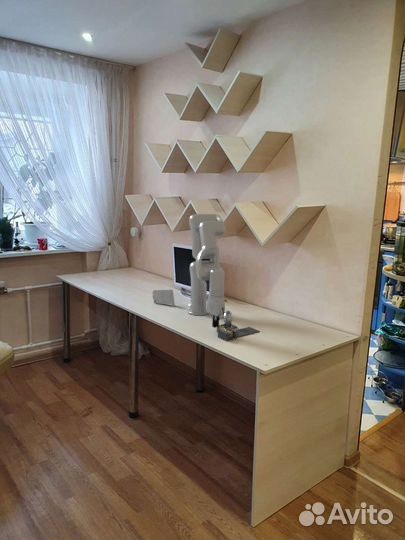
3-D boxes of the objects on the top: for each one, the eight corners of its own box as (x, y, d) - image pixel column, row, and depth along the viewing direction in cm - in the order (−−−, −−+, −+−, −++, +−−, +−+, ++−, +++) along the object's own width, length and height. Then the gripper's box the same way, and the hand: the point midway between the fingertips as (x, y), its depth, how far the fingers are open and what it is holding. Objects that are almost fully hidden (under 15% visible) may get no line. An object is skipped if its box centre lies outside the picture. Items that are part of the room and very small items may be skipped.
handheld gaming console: (155, 305, 270) (175, 305, 263) (153, 306, 267) (172, 306, 260) (153, 288, 268) (173, 288, 261) (151, 289, 266) (170, 289, 259)
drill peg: (222, 327, 223) (222, 311, 221) (227, 325, 225) (228, 309, 224) (227, 328, 220) (227, 312, 218) (232, 327, 222) (233, 311, 221)
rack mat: (228, 332, 214) (228, 332, 214) (249, 327, 223) (249, 326, 223) (238, 337, 208) (238, 336, 207) (259, 331, 216) (259, 330, 216)
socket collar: (217, 326, 223) (217, 325, 223) (228, 324, 228) (228, 322, 228) (226, 330, 217) (226, 329, 217) (237, 327, 222) (237, 326, 222)
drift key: (216, 332, 211) (216, 327, 211) (220, 331, 213) (220, 326, 212) (229, 337, 203) (229, 332, 203) (233, 336, 205) (233, 331, 204)
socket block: (217, 337, 207) (218, 329, 206) (228, 334, 211) (228, 327, 211) (226, 341, 202) (226, 333, 201) (237, 338, 206) (237, 331, 205)
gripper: (202, 290, 214) (201, 324, 218) (220, 297, 202) (219, 332, 206) (213, 288, 218) (212, 321, 222) (231, 295, 207) (230, 329, 210)
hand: (215, 326), depth 214 cm, fingers closed
